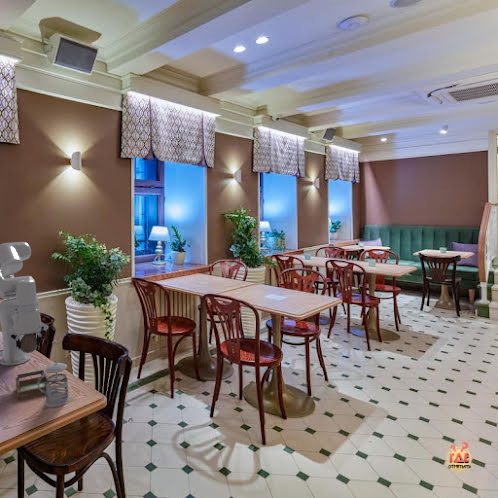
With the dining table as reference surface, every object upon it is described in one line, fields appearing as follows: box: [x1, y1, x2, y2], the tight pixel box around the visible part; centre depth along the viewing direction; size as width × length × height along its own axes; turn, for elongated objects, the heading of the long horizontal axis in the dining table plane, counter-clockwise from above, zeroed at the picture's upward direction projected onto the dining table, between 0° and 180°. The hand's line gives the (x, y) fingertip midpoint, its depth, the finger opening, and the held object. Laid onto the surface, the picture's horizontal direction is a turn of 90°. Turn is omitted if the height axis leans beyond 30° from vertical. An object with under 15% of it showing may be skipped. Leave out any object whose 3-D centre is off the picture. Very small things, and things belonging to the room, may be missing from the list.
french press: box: [37, 340, 72, 408], centre depth 149 cm, size 10×12×25 cm
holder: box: [16, 374, 51, 401], centre depth 159 cm, size 12×12×3 cm
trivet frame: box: [17, 369, 45, 381], centre depth 169 cm, size 10×10×1 cm
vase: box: [20, 333, 38, 354], centre depth 167 cm, size 7×7×9 cm
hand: (29, 346), depth 167 cm, fingers closed on vase, 6 cm apart
